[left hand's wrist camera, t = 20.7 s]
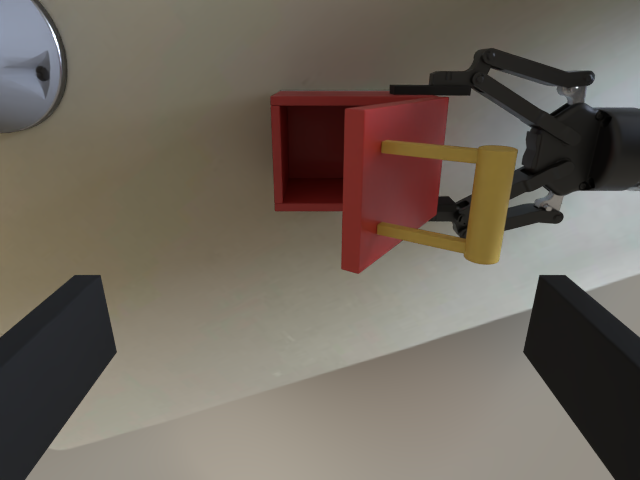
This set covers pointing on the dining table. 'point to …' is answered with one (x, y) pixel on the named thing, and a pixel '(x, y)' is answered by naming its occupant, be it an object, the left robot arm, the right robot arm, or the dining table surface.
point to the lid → (415, 183)
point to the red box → (314, 144)
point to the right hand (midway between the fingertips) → (388, 149)
